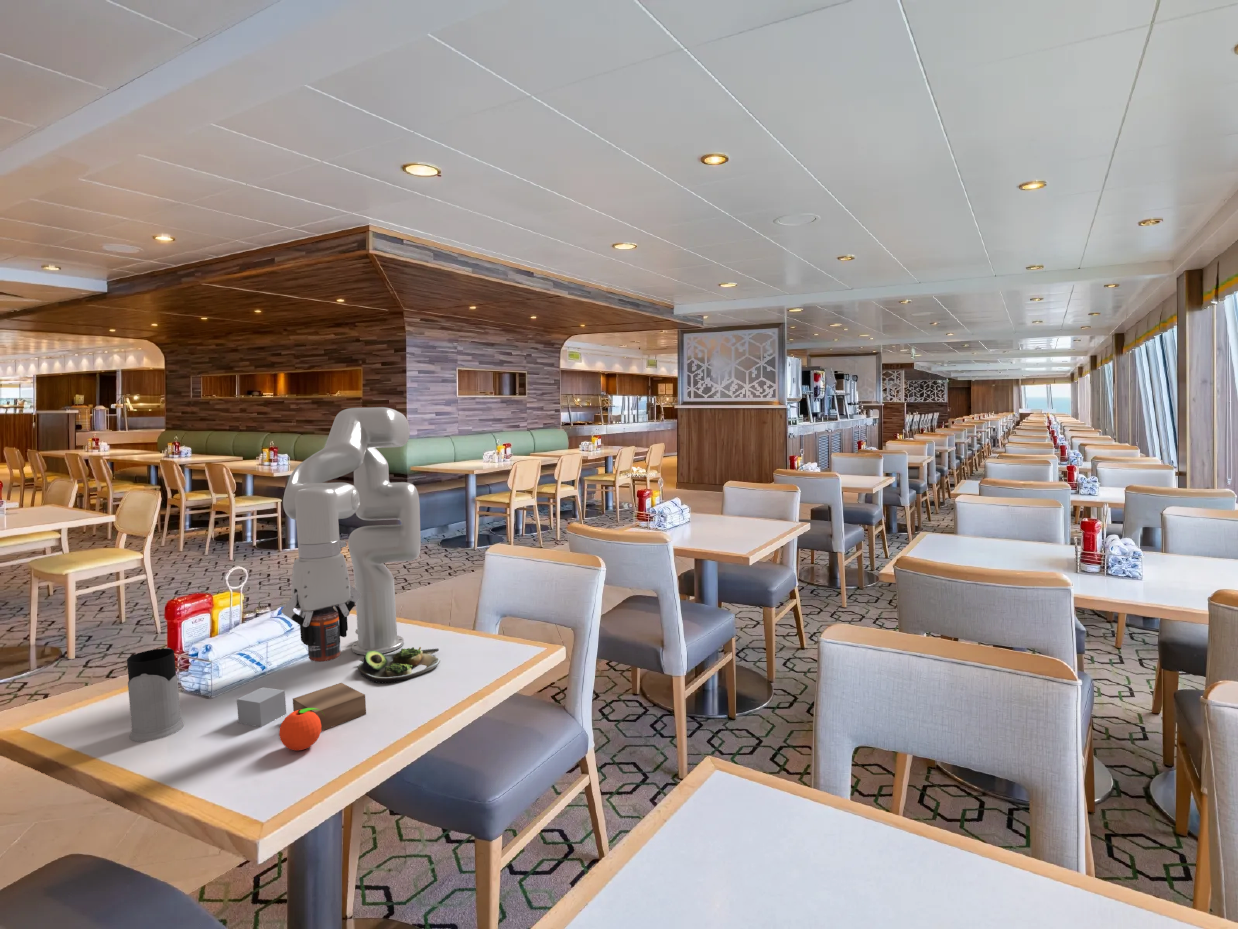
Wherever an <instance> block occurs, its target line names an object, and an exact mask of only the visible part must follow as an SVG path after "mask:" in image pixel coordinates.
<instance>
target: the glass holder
mask: <svg viewBox="0 0 1238 929" xmlns="http://www.w3.org/2000/svg"><path fill="white" fill-rule="evenodd" d="M126 663H127V666H126V667H127V675H128V682H127V688H128V689H127V690H128V700H129V710H130V713H129V714H130V723H131V732H130V734H129V739H130V740H131V741H133V742H149V741H151V742H152V741H156V740H159V739H163V738H166V737H169V736H171V735H174V734H176V733H177V732H179V731H180V730H182V729H183V727H185V722H184V721H183V719H182V717H181V706H180V693H179V683H178V681H179V679H178V674H177V671H176V656H175V650H174V649H172V648H170V647H164V648H154V649H149V650H144V651H141V652H138V653H135V654H132V655H130V656H129V657H127V659H126Z"/></svg>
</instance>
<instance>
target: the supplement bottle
mask: <svg viewBox="0 0 1238 929" xmlns="http://www.w3.org/2000/svg"><path fill="white" fill-rule="evenodd" d="M310 625H311V626H312V627H313V642H314V645H313V646H310V647H309V646H307V650H308V651H307V652H308V653H307V654H308V659H309V660H310V661H311V662H315V663H323V662H329V661H332V660H335V659H337V658H338V657H339V656H340V655H341V653H342V652H341V651H342V649H341V648H342V646H341V636H340V626H339V613H338V612H337V611H336V609H335V607H334V606H332V607H327V608H323V609H320V610H315V611H313V614H312V617H311V620H310Z"/></svg>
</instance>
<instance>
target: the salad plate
mask: <svg viewBox="0 0 1238 929" xmlns="http://www.w3.org/2000/svg"><path fill="white" fill-rule="evenodd" d="M439 650H440V648H437V647H436V648H428V649H427V648H426V649H422V647H421V646H419V647H418V649H416V648H415V647H411V648H410V647H408V648H400V650H398V651H396V652H391V653H389V654H384V653H380V652H378V651H369V652H367V653H366V654H365V655H363V658H360V659H359V661H360V663H359V664H358V666H357V670H358V671H359V673H360V675H361V676H362V677H364V679H367V680H368V681H369V682H372V683H376V684H391V683H392V684H394V683H398V682H403V681H406V680H410V679H412V678H414V677H418V676H420V675H424V674H426V673H427V672H430V671H432V670H433V669H435V668H436V667H438V666H439V664H440V663H441V659H440V658H439V657H436V656H433V654H435V653H436V652H439ZM418 666H426V667H425V668H424V669H421V670H419V671H415V672H412V669H414V668H416V667H417V668H418Z"/></svg>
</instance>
